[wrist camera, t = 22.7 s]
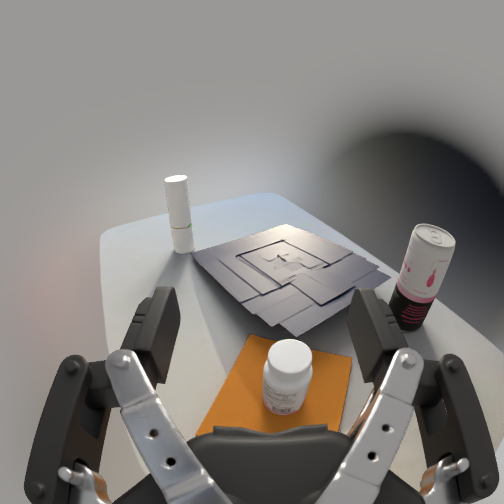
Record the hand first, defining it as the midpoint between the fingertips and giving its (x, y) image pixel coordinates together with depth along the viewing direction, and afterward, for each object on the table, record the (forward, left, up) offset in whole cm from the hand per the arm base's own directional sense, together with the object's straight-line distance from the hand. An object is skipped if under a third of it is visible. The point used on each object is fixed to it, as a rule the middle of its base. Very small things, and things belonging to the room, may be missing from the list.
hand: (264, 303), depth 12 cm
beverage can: (+25, -16, -21) cm, 36 cm away
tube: (+32, +27, -21) cm, 47 cm away
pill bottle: (+6, -1, -20) cm, 21 cm away
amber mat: (+7, -1, -21) cm, 22 cm away
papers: (+30, +6, -21) cm, 37 cm away
